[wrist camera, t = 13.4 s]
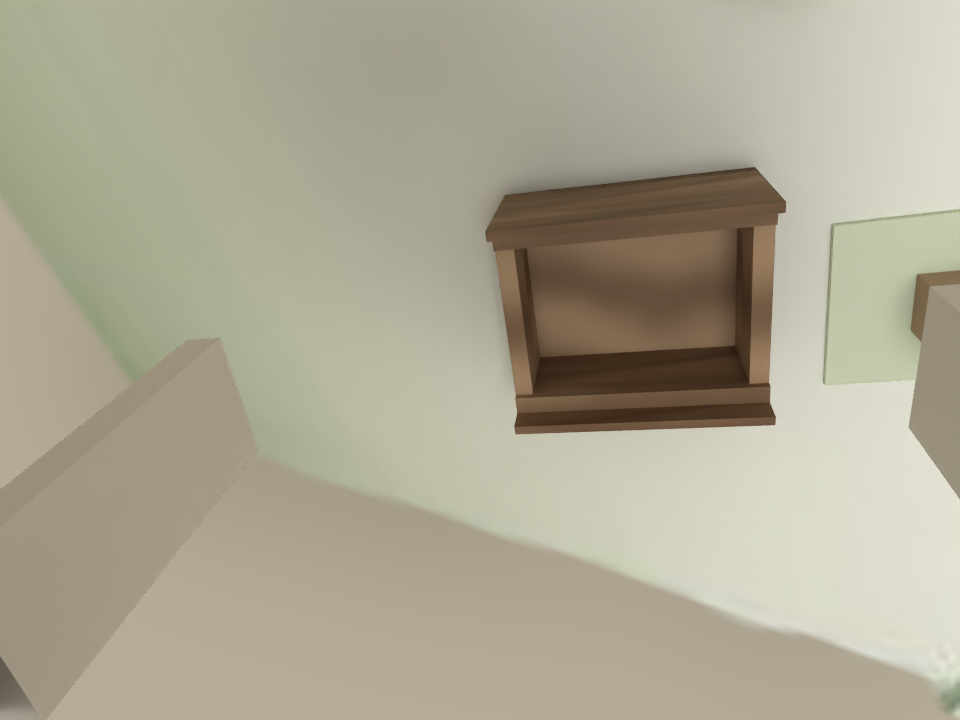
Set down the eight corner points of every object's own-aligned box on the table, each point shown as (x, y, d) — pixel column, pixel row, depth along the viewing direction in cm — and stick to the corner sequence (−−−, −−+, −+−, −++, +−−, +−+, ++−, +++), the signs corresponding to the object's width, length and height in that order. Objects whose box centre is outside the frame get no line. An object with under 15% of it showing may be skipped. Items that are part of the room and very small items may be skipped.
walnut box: (505, 195, 40) (485, 232, 34) (754, 167, 37) (786, 201, 31) (528, 372, 46) (515, 434, 39) (749, 360, 43) (775, 424, 36)
